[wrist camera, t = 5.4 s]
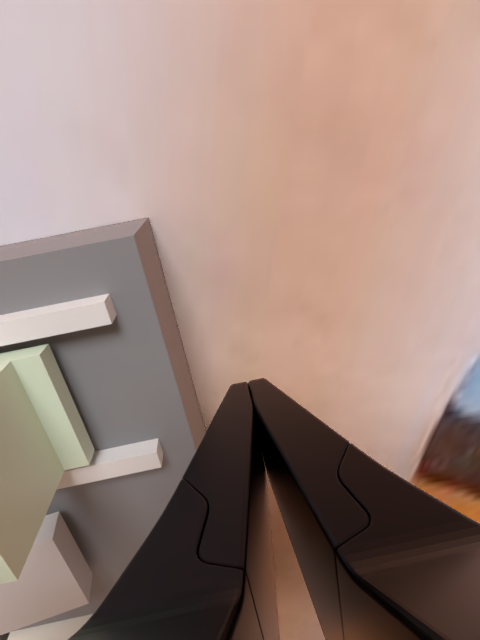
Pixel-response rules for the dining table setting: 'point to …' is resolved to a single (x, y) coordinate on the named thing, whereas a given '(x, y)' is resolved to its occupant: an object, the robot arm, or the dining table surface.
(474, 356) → the dining table surface
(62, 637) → the push button
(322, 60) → the dining table surface
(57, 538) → the pale grey slab
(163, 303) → the console
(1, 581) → the slide paddle
